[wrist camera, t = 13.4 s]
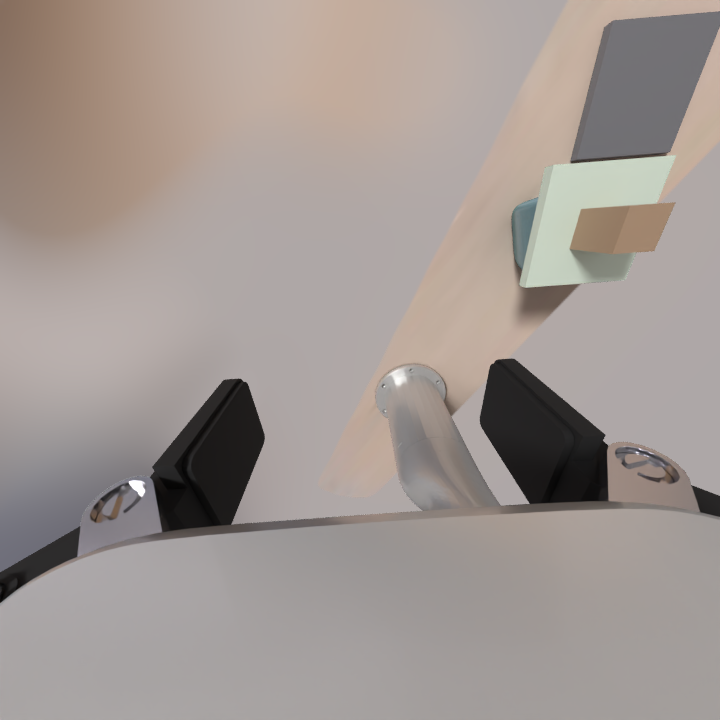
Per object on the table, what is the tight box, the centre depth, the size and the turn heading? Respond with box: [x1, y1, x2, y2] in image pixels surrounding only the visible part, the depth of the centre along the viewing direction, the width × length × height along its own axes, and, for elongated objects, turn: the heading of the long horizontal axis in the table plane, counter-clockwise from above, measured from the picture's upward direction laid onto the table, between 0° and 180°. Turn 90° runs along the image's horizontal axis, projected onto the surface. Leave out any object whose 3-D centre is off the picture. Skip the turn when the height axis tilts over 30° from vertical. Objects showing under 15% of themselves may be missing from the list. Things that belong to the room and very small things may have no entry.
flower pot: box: [512, 197, 538, 270], centre depth 31 cm, size 9×9×9 cm
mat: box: [571, 11, 720, 161], centre depth 28 cm, size 11×11×1 cm
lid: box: [519, 155, 676, 288], centre depth 24 cm, size 11×11×6 cm
